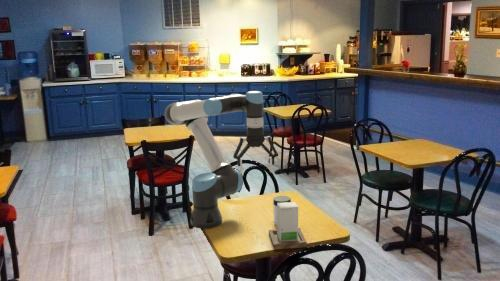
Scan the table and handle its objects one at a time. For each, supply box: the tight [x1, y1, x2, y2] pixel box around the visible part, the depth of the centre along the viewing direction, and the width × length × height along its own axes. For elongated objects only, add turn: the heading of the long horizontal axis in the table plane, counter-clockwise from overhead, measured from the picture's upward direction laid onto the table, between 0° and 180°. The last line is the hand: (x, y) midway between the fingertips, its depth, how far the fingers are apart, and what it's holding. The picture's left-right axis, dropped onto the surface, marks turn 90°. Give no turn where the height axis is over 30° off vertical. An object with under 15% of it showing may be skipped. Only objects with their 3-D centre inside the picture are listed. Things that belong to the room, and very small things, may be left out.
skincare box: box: [276, 201, 299, 242], centre depth 200 cm, size 8×7×16 cm
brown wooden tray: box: [268, 227, 308, 250], centre depth 202 cm, size 14×15×2 cm
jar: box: [272, 195, 292, 226], centre depth 220 cm, size 9×8×12 cm
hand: (256, 172), depth 212 cm, fingers open, 13 cm apart
